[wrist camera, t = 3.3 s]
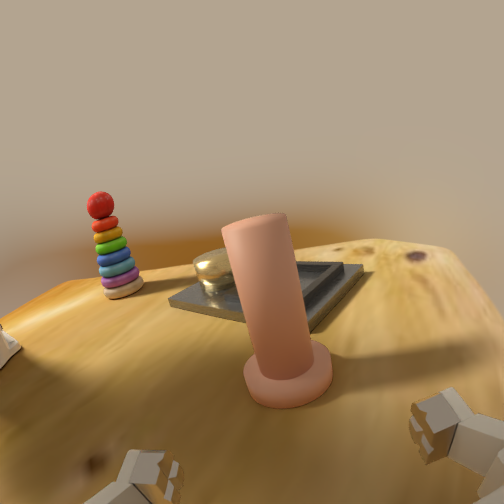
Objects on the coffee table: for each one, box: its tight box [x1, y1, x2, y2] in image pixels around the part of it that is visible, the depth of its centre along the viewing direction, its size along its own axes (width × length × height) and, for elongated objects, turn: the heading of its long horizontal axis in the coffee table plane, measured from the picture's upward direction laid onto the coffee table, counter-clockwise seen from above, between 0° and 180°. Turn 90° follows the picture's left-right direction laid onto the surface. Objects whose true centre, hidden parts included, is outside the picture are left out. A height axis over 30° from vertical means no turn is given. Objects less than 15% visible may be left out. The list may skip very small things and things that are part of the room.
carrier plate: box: [168, 248, 364, 333], centre depth 39 cm, size 22×14×5 cm, turn 50°
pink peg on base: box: [221, 213, 333, 409], centre depth 20 cm, size 6×6×12 cm
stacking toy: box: [87, 192, 143, 299], centre depth 52 cm, size 8×8×19 cm
